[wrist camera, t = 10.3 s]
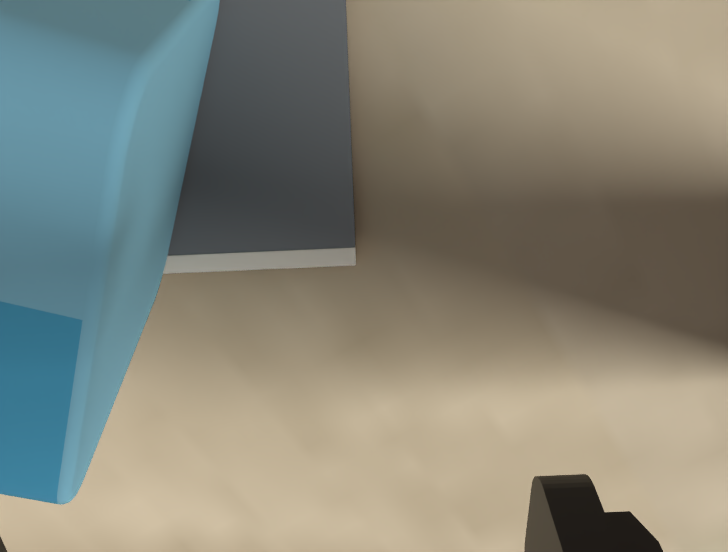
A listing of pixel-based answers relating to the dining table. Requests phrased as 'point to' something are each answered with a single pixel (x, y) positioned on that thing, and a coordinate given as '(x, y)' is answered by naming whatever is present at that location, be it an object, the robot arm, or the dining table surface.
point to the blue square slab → (85, 212)
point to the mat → (270, 144)
